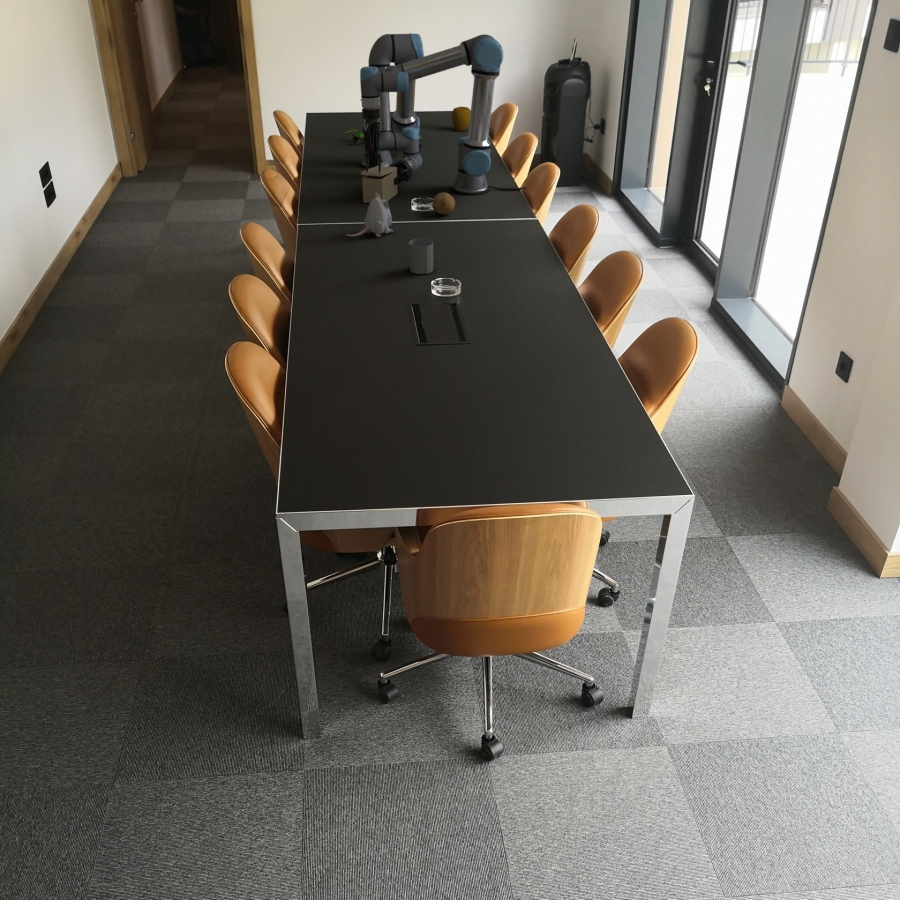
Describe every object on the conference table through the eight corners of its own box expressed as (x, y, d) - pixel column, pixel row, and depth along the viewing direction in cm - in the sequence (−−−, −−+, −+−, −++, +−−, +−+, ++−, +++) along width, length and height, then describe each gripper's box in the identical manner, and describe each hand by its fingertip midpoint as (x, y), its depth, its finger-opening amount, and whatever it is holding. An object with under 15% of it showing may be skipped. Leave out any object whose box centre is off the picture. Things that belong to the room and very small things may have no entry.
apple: (471, 132, 486) (471, 108, 479) (451, 132, 486) (451, 108, 479) (470, 128, 495) (471, 104, 488) (452, 128, 495) (452, 104, 488)
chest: (382, 204, 373) (381, 179, 368) (363, 202, 376) (362, 177, 370) (397, 193, 387) (396, 169, 381) (378, 191, 389) (377, 168, 384)
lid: (380, 176, 366) (380, 154, 362) (361, 174, 369) (360, 152, 365) (396, 169, 381) (396, 148, 377) (377, 168, 384) (377, 146, 380)
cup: (409, 265, 311) (408, 238, 306) (432, 265, 312) (431, 238, 307) (410, 274, 304) (409, 246, 299) (433, 273, 305) (433, 246, 299)
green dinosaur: (399, 126, 467) (343, 124, 465) (399, 141, 460) (342, 139, 458) (399, 136, 472) (343, 133, 470) (399, 151, 465) (342, 149, 463)
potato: (453, 208, 369) (453, 189, 365) (456, 218, 357) (456, 199, 353) (431, 208, 368) (430, 189, 364) (432, 218, 356) (432, 199, 352)
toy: (398, 232, 342) (397, 194, 334) (353, 246, 328) (351, 207, 320) (383, 227, 348) (381, 189, 340) (338, 241, 333) (335, 202, 325)
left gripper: (381, 157, 401) (361, 170, 383) (425, 162, 395) (407, 174, 377) (382, 174, 405) (362, 187, 387) (425, 178, 399) (407, 191, 381)
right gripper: (369, 103, 363) (372, 161, 375) (354, 110, 351) (358, 169, 364) (386, 105, 361) (388, 162, 373) (371, 112, 349) (374, 171, 361)
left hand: (384, 180), depth 382 cm, fingers closed on chest, 9 cm apart
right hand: (373, 166), depth 368 cm, fingers closed on lid, 2 cm apart
